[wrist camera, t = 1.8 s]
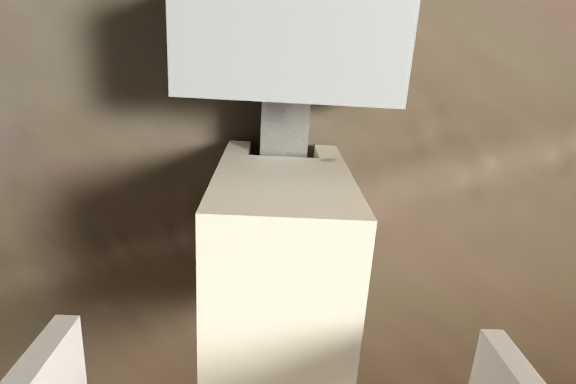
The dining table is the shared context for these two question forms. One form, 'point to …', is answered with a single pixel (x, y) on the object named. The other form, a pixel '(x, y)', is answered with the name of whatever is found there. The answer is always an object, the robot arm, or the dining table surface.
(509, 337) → the robot arm
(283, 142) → the rail
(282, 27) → the block
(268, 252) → the block
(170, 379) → the dining table surface
